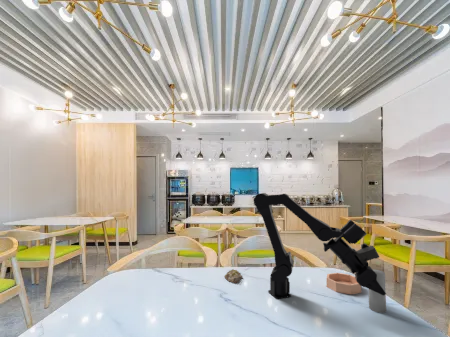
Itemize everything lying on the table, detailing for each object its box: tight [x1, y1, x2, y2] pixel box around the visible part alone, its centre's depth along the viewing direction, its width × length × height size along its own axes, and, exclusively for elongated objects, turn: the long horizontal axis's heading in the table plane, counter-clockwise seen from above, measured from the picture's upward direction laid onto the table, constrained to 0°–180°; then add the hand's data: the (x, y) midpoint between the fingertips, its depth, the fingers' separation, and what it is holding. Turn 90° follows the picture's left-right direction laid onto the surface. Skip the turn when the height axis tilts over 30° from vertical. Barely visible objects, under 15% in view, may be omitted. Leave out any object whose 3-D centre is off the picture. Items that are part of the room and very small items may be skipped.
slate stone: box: [368, 268, 387, 314], centre depth 85 cm, size 5×5×12 cm
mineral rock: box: [223, 268, 243, 284], centre depth 111 cm, size 11×4×8 cm
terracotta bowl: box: [326, 272, 362, 295], centre depth 103 cm, size 13×13×4 cm
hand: (381, 288), depth 85 cm, fingers open, 9 cm apart
